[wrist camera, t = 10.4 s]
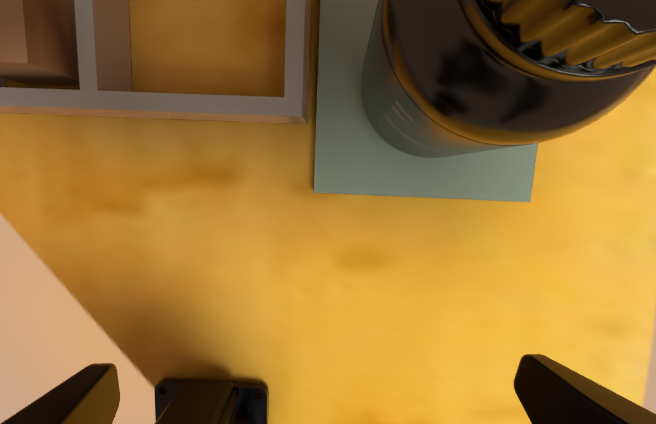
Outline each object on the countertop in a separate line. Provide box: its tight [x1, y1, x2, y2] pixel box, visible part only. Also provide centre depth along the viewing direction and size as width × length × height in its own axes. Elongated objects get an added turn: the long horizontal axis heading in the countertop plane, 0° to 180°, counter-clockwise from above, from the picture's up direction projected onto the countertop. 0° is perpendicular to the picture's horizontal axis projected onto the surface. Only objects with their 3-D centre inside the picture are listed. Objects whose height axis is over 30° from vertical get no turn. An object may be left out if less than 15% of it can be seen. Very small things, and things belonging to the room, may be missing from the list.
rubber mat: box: [314, 0, 538, 202], centre depth 16 cm, size 11×11×1 cm
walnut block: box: [0, 0, 80, 86], centre depth 15 cm, size 4×4×4 cm
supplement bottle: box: [361, 0, 656, 158], centre depth 10 cm, size 7×7×12 cm
